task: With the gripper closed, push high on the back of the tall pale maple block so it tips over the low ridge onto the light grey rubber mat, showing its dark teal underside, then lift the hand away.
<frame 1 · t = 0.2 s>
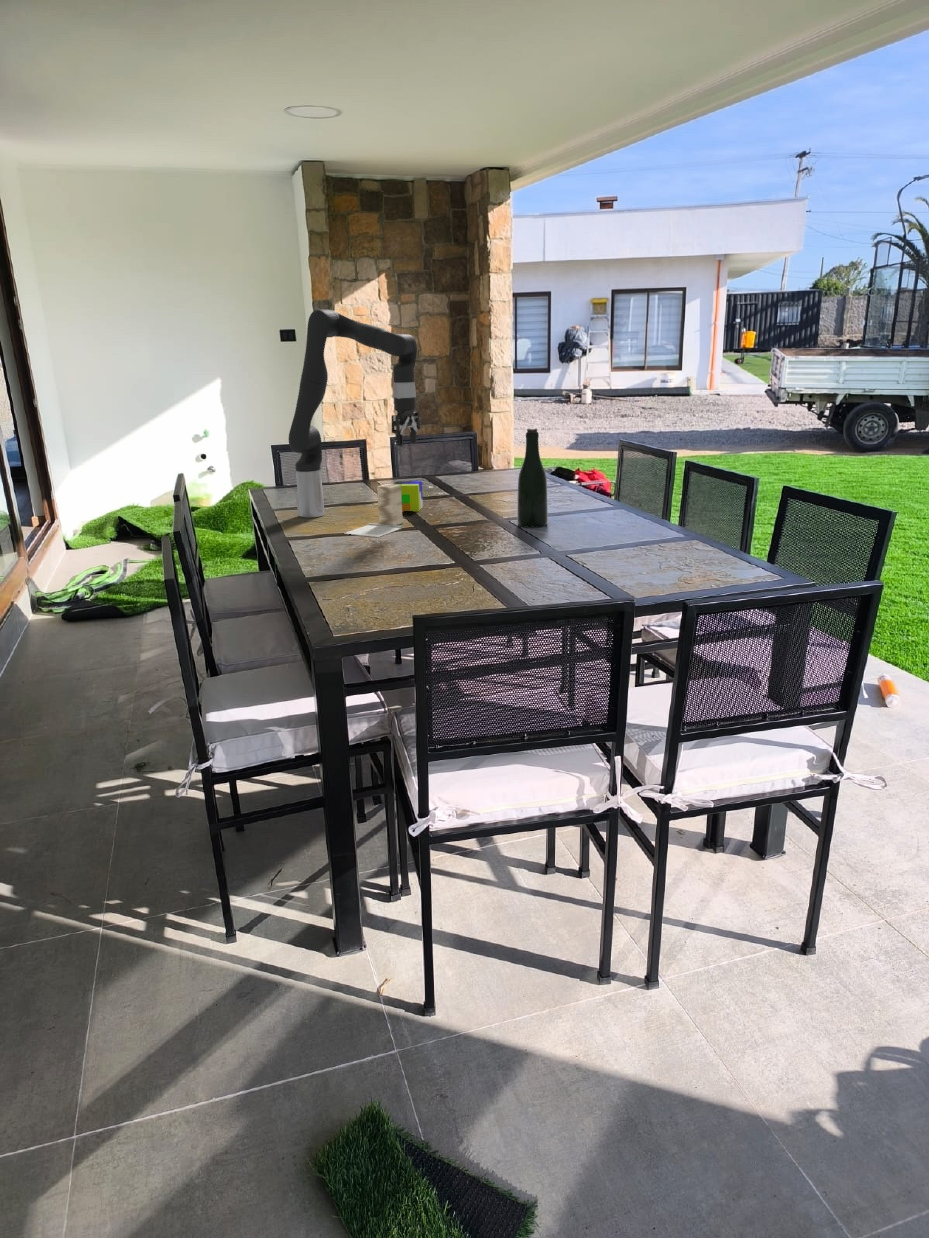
hand: (406, 444, 290), 28 cm above the table, tool pointing down, fingers open, 8 cm apart
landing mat: (373, 531, 289), on the table
maple block: (391, 524, 298), on the table
green wine bottle: (532, 525, 291), on the table
puzzle toy: (408, 509, 325), on the table
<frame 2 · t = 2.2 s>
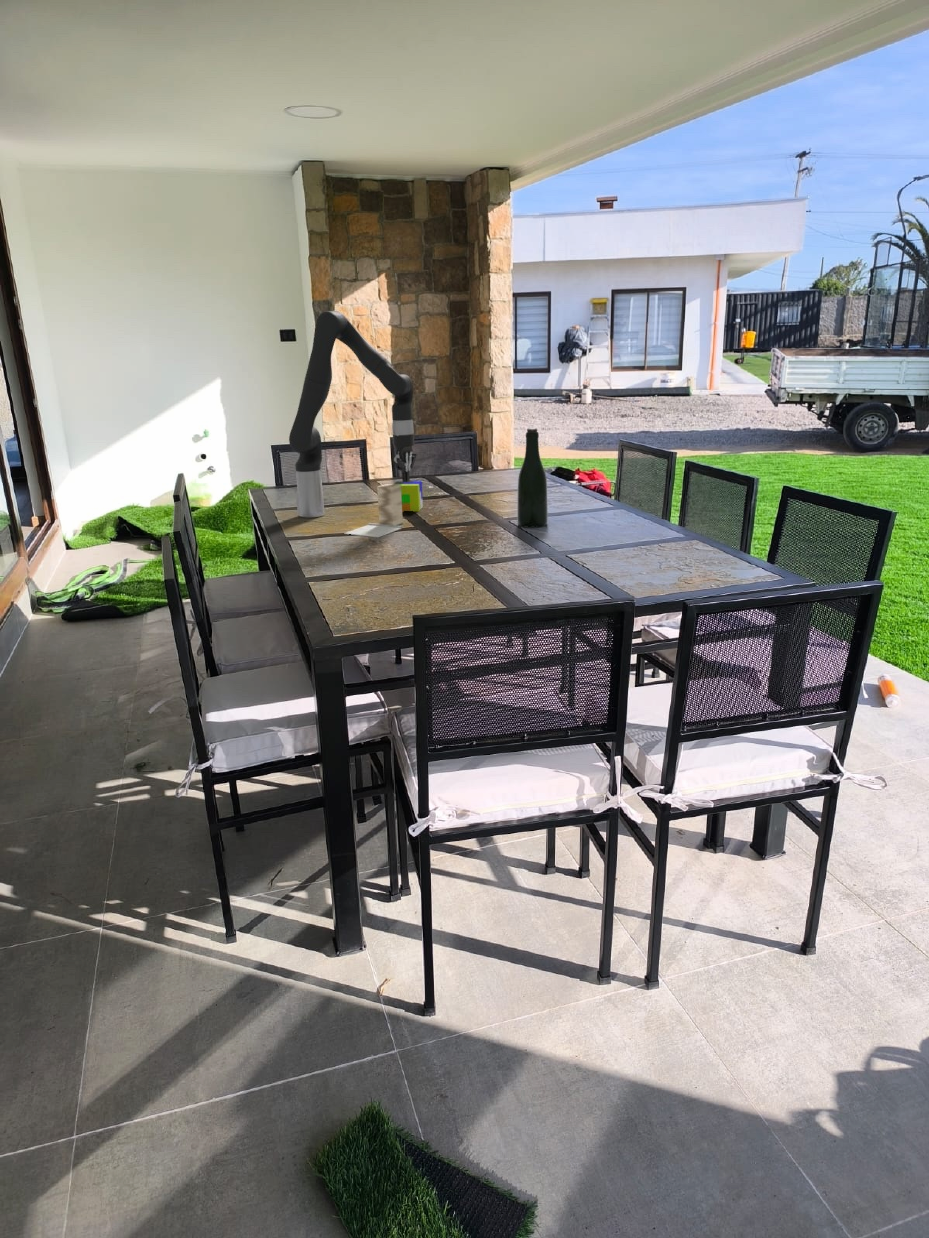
hand: (406, 481, 303), 14 cm above the table, tool pointing down, fingers closed
nothing on the table moved.
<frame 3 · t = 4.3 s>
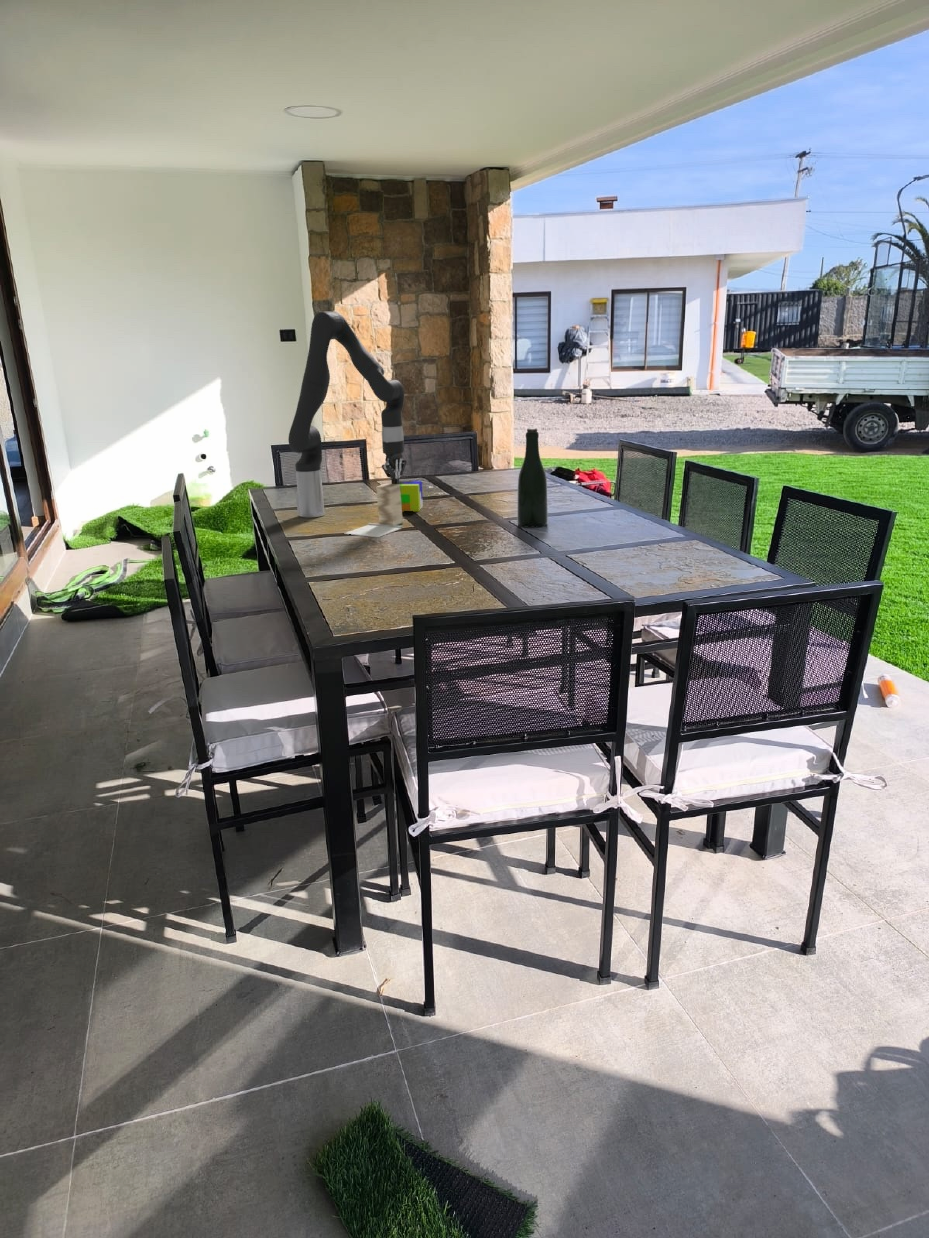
hand: (395, 488, 298), 12 cm above the table, tool pointing down, fingers closed
maple block: (391, 524, 298), on the table, touching gripper
everything else where it was.
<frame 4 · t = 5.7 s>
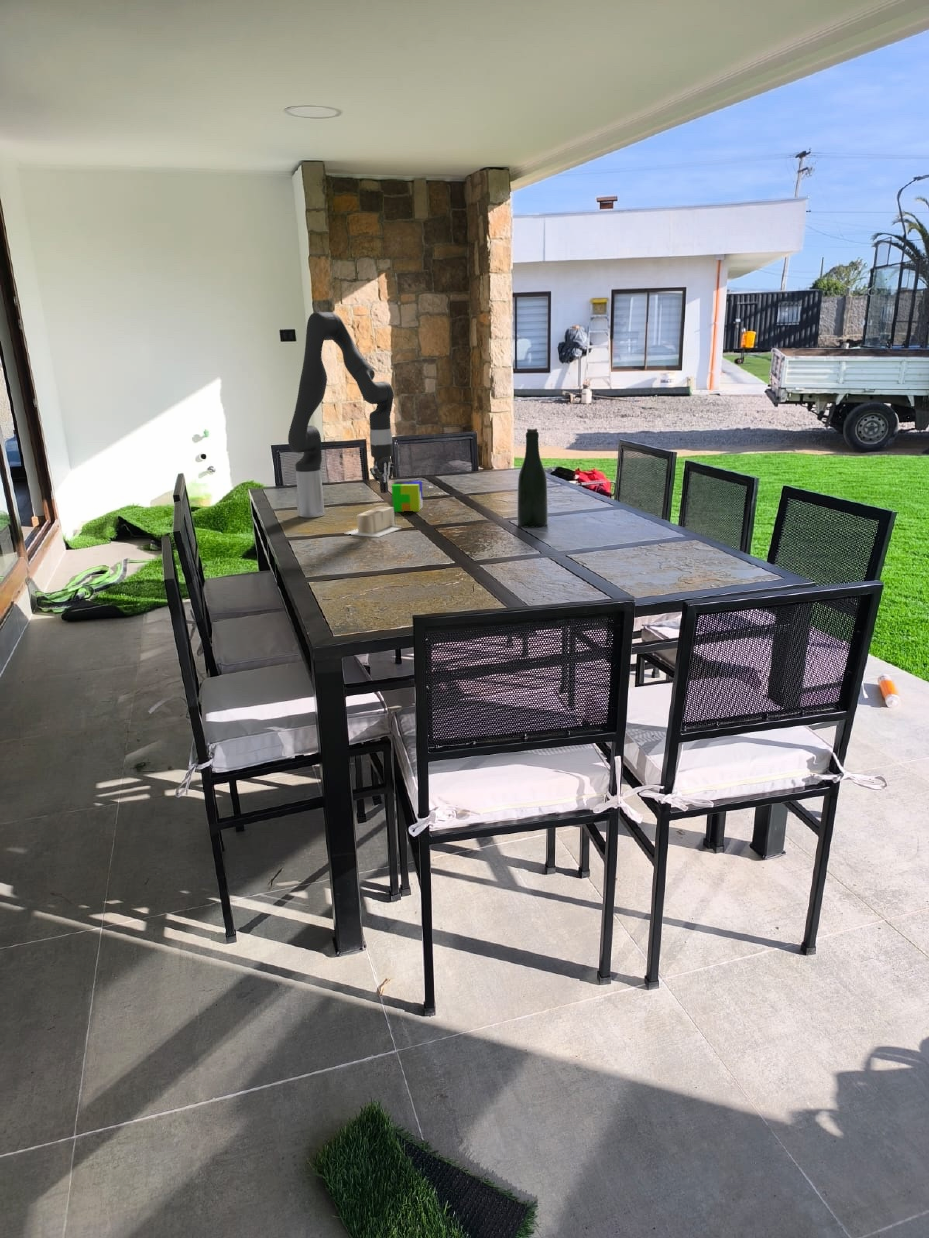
hand: (384, 492, 292), 12 cm above the table, tool pointing down, fingers closed
maple block: (387, 514, 296), point 4 cm above the table, tilted 93°, touching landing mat
everything else where it was.
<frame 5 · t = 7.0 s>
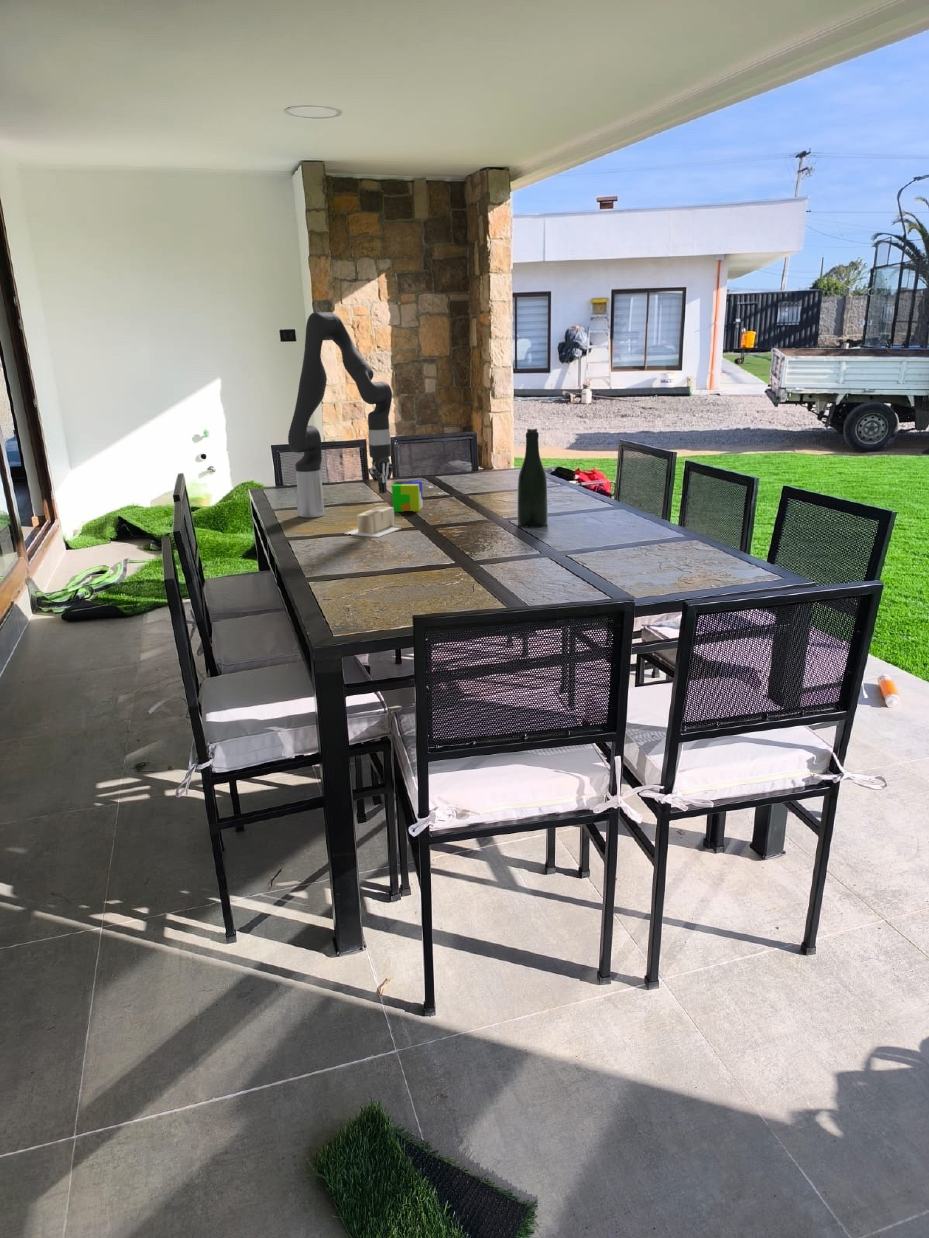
hand: (382, 493, 291), 12 cm above the table, tool pointing down, fingers closed
nothing on the table moved.
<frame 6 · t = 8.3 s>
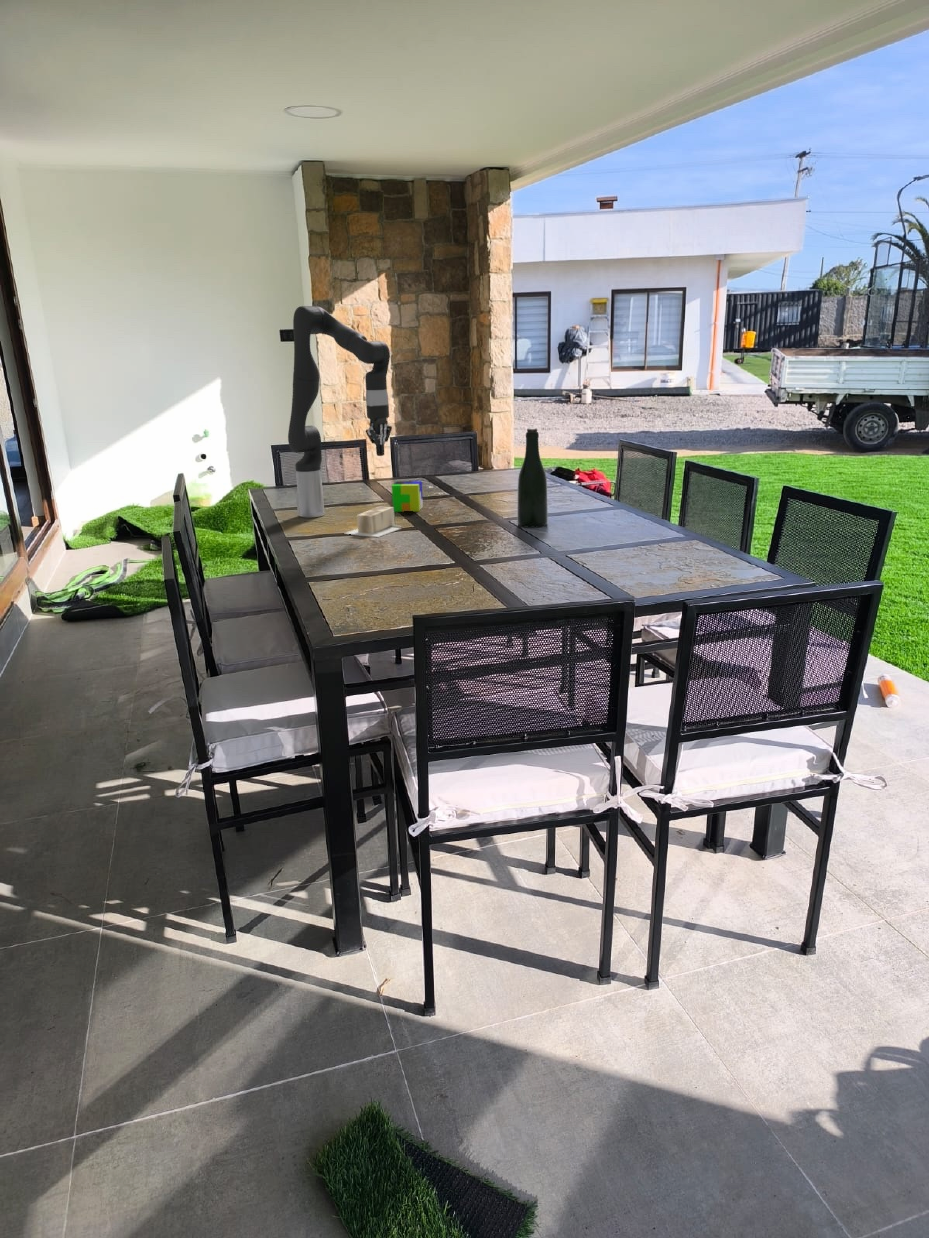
hand: (380, 455, 287), 25 cm above the table, tool pointing down, fingers closed
nothing on the table moved.
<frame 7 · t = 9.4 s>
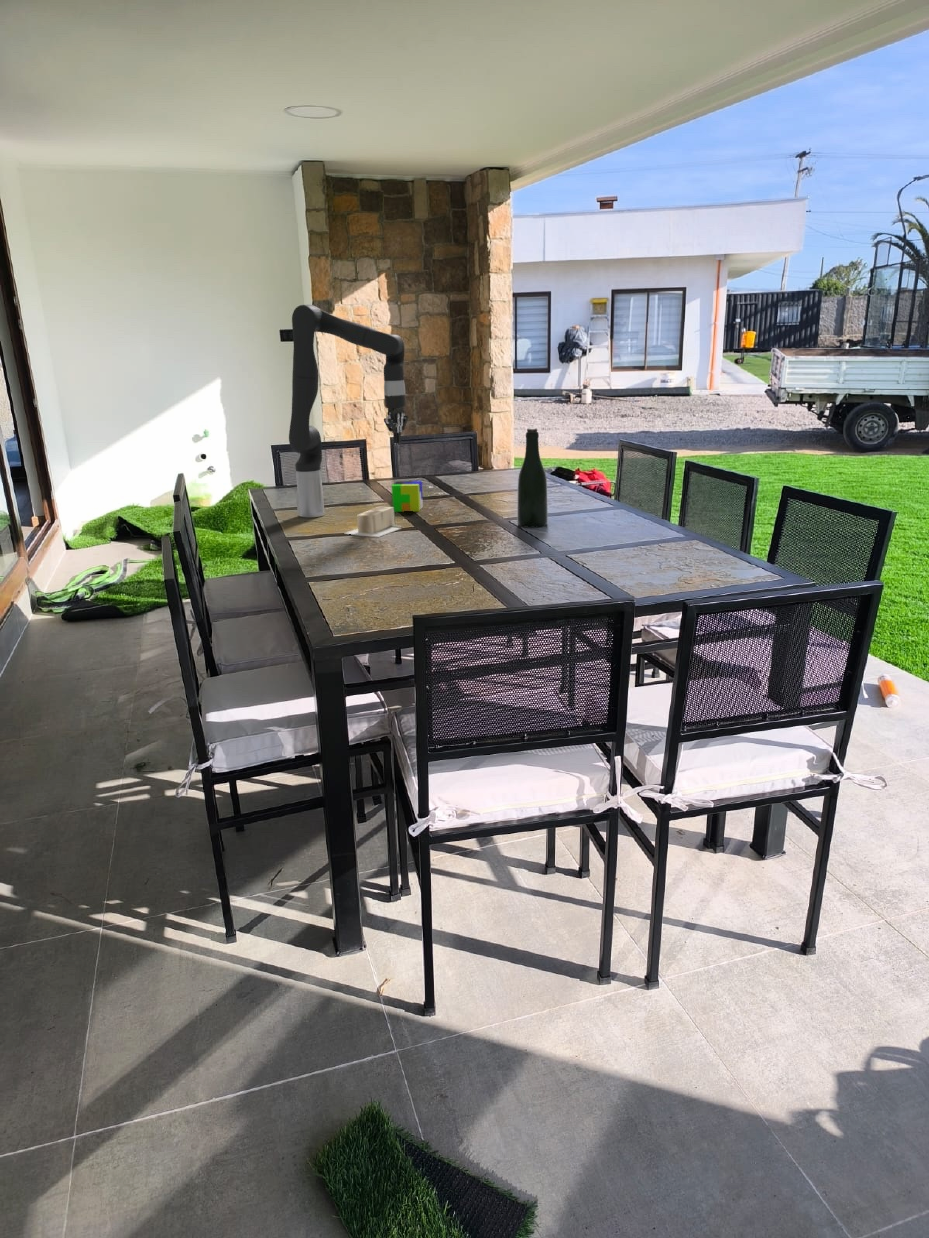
hand: (397, 443, 302), 27 cm above the table, tool pointing down, fingers closed
nothing on the table moved.
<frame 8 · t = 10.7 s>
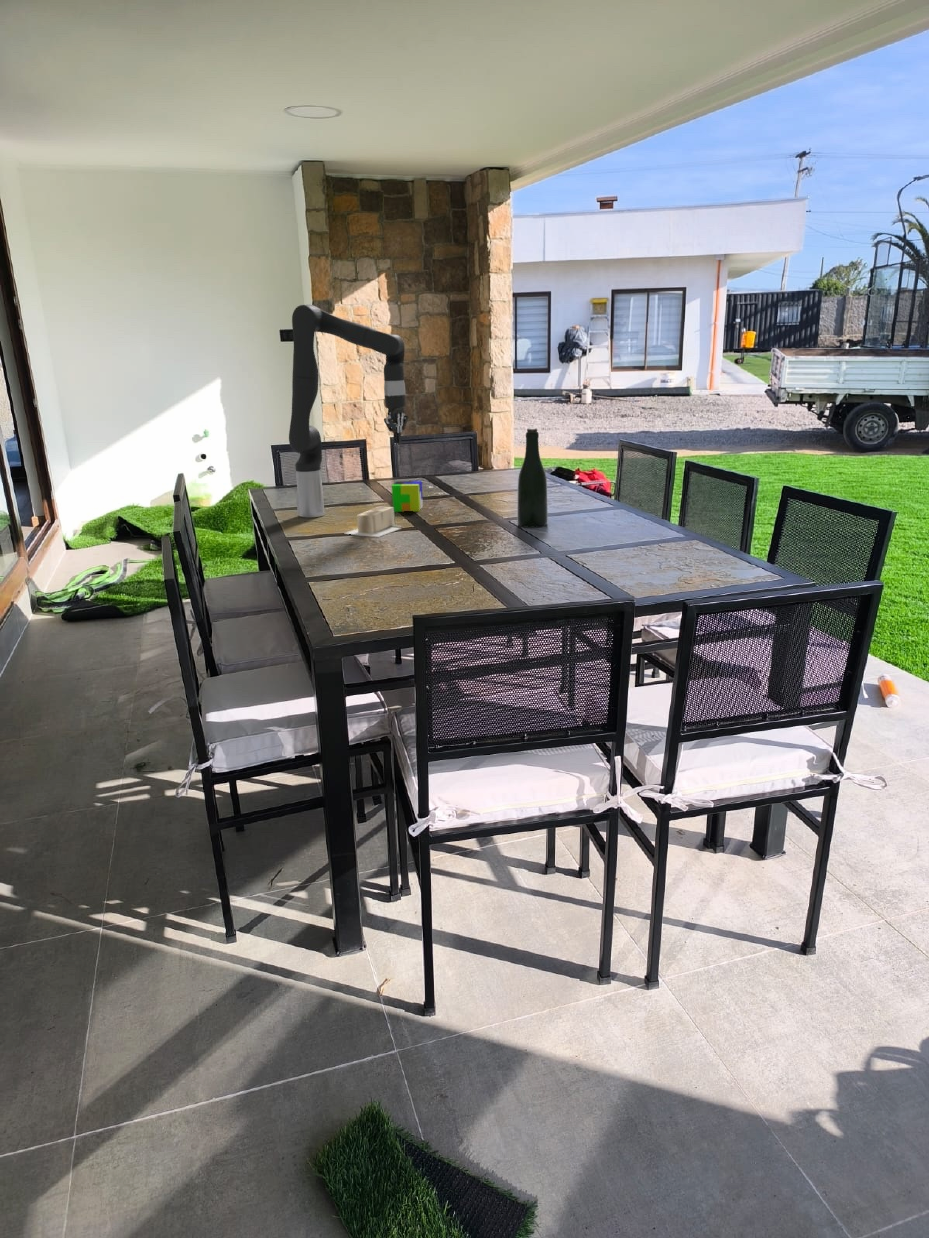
hand: (397, 443, 302), 27 cm above the table, tool pointing down, fingers closed
nothing on the table moved.
at the end: maple block tilted 93°; maple block touching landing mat; the gripper is holding nothing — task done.
